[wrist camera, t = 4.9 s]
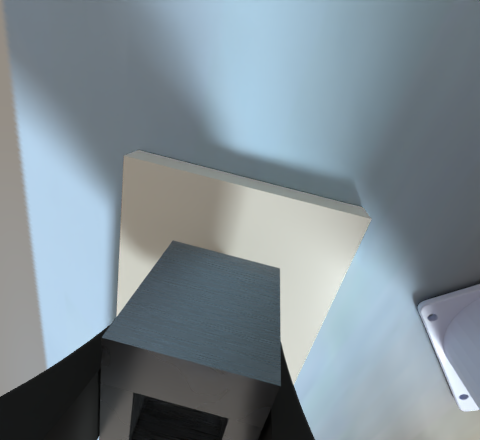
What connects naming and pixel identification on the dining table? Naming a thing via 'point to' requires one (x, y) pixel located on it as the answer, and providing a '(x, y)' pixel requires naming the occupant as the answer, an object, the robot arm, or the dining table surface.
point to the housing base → (240, 235)
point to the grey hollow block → (193, 351)
